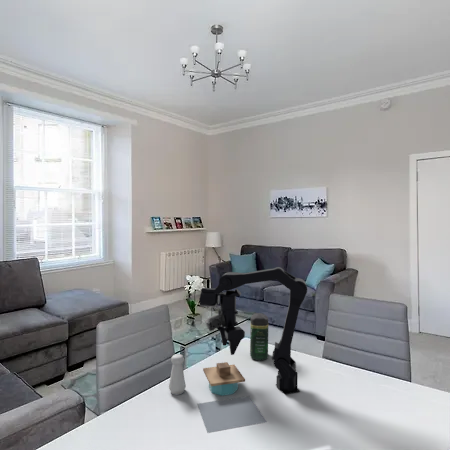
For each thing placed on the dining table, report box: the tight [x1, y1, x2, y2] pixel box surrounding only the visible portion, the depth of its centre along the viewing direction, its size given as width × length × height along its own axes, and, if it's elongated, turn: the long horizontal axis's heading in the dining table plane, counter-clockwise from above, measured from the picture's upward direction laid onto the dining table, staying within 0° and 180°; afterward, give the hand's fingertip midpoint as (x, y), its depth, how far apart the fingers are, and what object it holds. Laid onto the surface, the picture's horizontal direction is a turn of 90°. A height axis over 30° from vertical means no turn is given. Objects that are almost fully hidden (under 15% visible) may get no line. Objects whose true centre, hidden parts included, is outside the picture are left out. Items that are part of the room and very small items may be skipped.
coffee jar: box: [249, 312, 269, 361], centre depth 144 cm, size 10×8×19 cm
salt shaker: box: [168, 353, 187, 396], centre depth 113 cm, size 6×6×13 cm
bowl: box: [208, 382, 239, 397], centre depth 116 cm, size 10×10×5 cm
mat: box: [196, 395, 268, 434], centre depth 101 cm, size 18×15×1 cm
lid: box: [202, 361, 246, 386], centre depth 115 cm, size 12×12×4 cm
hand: (228, 349), depth 120 cm, fingers open, 9 cm apart
